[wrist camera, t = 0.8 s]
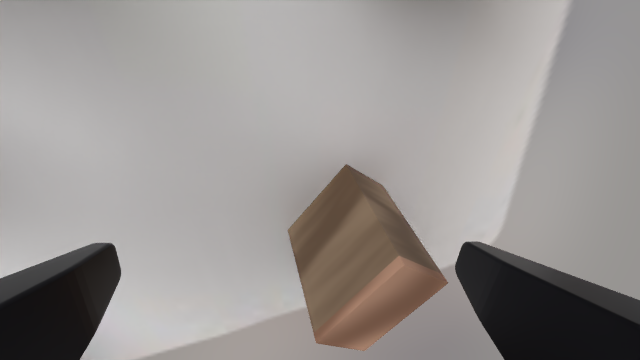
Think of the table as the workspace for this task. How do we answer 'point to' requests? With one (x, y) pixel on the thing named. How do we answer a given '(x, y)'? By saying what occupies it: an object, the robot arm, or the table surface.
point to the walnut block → (359, 262)
